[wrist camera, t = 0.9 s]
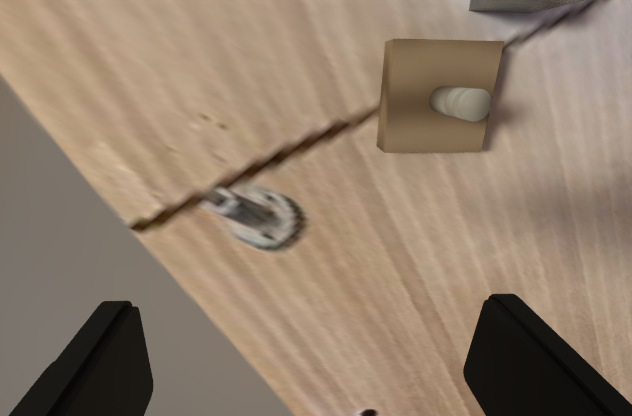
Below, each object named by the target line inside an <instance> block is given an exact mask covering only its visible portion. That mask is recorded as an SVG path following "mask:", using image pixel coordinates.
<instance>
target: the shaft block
mask: <svg viewBox="0 0 632 416" xmlns="http://www.w3.org/2000/svg"><path fill="white" fill-rule="evenodd" d="M503 44H504V41H465V40H425V39H393V40H390V41H387V42H385V53H384V65H383V77H382V89H381V100H380V112H379V124H378V136H377V147H378V148H379V149H381V150H382V151H383V152H384V153H414V152H481V149H482V144H483V140H484V135H485V130H486V125H487V121H488V116H489V111H490V108H491V105H492V97H493V92H494V87H495V82H496V78H497V73H498V68H499V63H500V59H501V54H502V49H503Z"/></svg>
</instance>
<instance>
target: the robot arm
mask: <svg viewBox="0 0 632 416" xmlns="http://www.w3.org/2000/svg"><path fill="white" fill-rule="evenodd" d="M463 373H464V378H465V381H466V383H467V384H468V386H469V388H470V390H471V391H472V393H473V395H474V396H475V398H476V400H477V401H478V403H479V405H480V406H481V408H482V410H483V411H484V413H485V415H486V416H632V404H630V403H629V402H628V401H627V400H626V399H625V398H624V397H623V396H622V395H621V394H620V393H619V392H618V391H617V390H616V389H615V388H614V387H613V386H612V385H611V384H609V383H608V382H607V381H606V380H605V379H604V378H603V377H602V376H601V375H600V374H599V373H598V372H597V371H596V370H595V369H594V368H593V367H592V366H591V365H589V364H588V363H587V362H586V361H585V360H584V359H583V358H582V357H581V356H580V355H579V354H578V353H577V352H576V351H575V350H574V349H573V348H572V347H571V346H569V345H568V344H567V343H566V342H565V341H564V340H563V339H562V338H561V337H560V336H559V335H558V334H557V333H556V332H555V331H554V330H553V329H552V328H551V327H550V326H548V325H547V324H546V323H545V322H544V321H543V320H542V319H541V318H540V317H539V316H538V315H537V314H536V313H535V312H534V311H533V310H532V309H531V308H530V307H528V306H527V305H526V304H525V303H524V302H523V301H522V300H521V299H520V298H519V297H518V296H516V295H515V294H492V295H491V296H489V298H488V300H485V301H484V303H483V306H482V310H481V313H480V316H479V319H478V323H477V326H476V329H475V332H474V336H473V339H472V342H471V346H470V349H469V352H468V355H467V359H466V362H465V365H464V369H463ZM152 392H153V378H152V373H151V368H150V363H149V358H148V353H147V348H146V343H145V337H144V332H143V327H142V322H141V317H140V312H139V309H138V307H133V306H132V304H131V302H130V301H104V302H102V303H101V304H100V305H99V306H98V307H97V309H96V310H95V311H94V312H93V314H92V315H91V316H90V318H89V319H88V320H87V321H86V323H85V324H84V325H83V326H82V328H81V329H80V330H79V331H78V333H77V334H76V335H75V337H74V338H73V339H72V340H71V342H70V343H69V344H68V345H67V347H66V348H65V349H64V350H63V352H62V353H61V354H60V356H59V357H58V358H57V360H56V361H54V362H53V363H52V364H50V366H49V367H48V368H46V370H45V371H44V372H43V373H42V375H41V376H40V377H39V378H38V380H37V381H36V382H35V383H34V385H33V386H32V387H31V388H30V390H29V391H28V392H27V394H26V395H25V396H24V397H23V398H22V400H21V401H20V402H19V403H18V405H17V406H16V407H15V408H14V410H13V411H12V412H11V413H10V415H9V416H144V414H145V411H146V409H147V406H148V404H149V401H150V399H151V396H152Z"/></svg>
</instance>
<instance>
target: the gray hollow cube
mask: <svg viewBox="0 0 632 416" xmlns="http://www.w3.org/2000/svg"><path fill="white" fill-rule="evenodd" d="M578 1H582V0H471V2H470V8H469V11H498V12H527V13H533V12H537V11H541V10H546V9H550V8H554V7H558V6H562V5H566V4H570V3H574V2H578Z"/></svg>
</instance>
